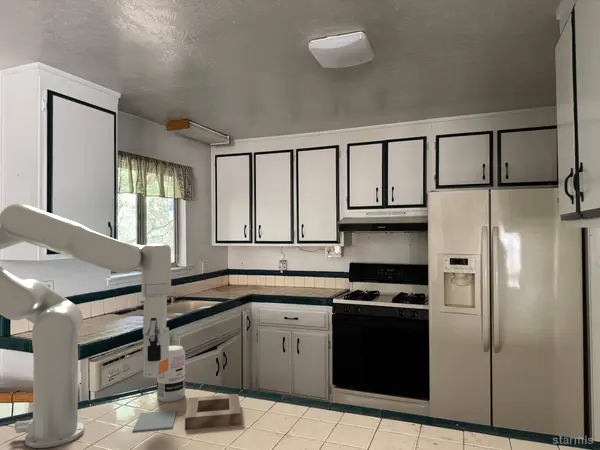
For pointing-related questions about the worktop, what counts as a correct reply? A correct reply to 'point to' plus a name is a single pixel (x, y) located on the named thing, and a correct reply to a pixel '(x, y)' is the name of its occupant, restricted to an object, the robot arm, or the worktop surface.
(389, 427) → the worktop surface
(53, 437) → the robot arm
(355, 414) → the worktop surface
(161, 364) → the skincare box
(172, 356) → the supplement can
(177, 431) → the worktop surface
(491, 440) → the worktop surface
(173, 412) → the rubber mat
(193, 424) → the holder block
